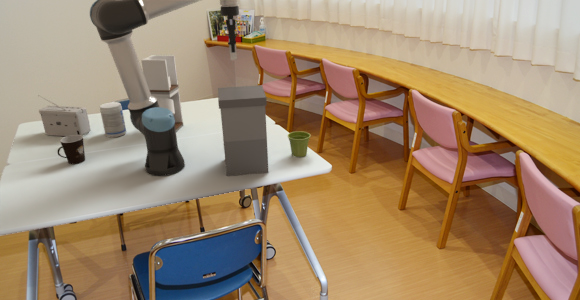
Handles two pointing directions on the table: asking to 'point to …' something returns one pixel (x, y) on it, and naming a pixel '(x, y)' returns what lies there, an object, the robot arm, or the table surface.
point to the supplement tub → (113, 119)
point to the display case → (164, 84)
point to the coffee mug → (73, 149)
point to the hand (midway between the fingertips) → (233, 56)
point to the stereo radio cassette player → (65, 120)
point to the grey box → (244, 129)
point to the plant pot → (299, 143)
